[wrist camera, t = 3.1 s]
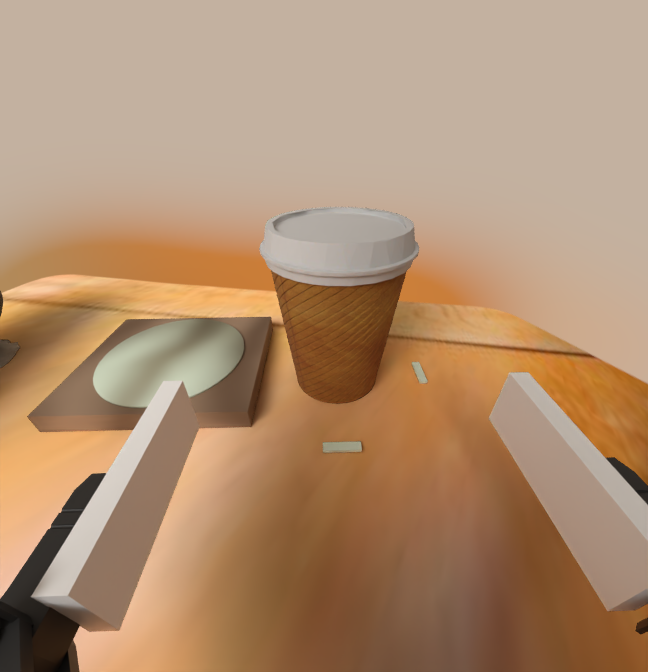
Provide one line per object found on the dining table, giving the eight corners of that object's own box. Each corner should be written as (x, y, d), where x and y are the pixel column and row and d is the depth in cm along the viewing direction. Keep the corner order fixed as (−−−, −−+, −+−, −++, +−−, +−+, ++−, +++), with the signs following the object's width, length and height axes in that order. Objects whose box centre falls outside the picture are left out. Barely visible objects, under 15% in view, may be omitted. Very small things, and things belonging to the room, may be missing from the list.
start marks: (401, 326, 30) (402, 324, 30) (456, 449, 18) (457, 447, 18) (261, 329, 30) (261, 327, 30) (226, 455, 18) (226, 453, 18)
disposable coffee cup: (370, 335, 29) (383, 202, 22) (417, 408, 21) (459, 238, 14) (272, 349, 27) (253, 209, 20) (284, 433, 19) (260, 254, 13)
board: (272, 329, 30) (270, 315, 29) (251, 426, 20) (247, 409, 19) (132, 332, 30) (125, 317, 29) (39, 432, 20) (25, 414, 19)
